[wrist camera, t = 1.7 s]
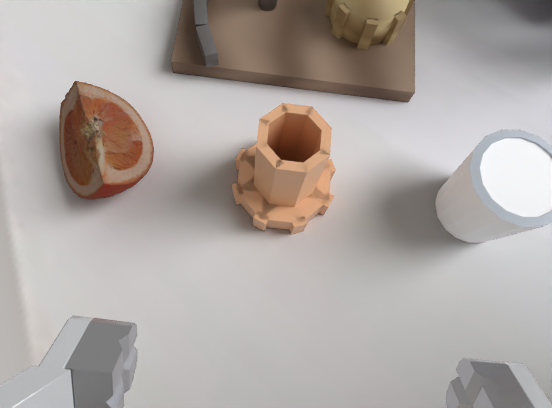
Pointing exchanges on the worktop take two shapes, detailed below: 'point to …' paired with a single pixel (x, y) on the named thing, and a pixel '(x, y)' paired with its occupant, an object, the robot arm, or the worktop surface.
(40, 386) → the robot arm
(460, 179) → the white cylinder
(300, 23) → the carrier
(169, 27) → the worktop surface
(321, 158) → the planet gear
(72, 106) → the fruit slice
